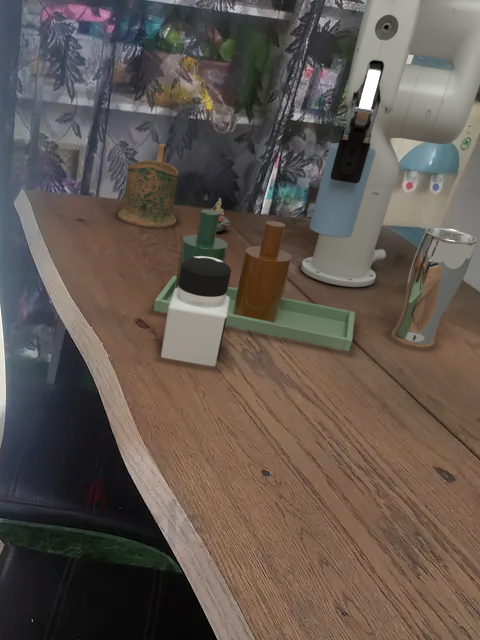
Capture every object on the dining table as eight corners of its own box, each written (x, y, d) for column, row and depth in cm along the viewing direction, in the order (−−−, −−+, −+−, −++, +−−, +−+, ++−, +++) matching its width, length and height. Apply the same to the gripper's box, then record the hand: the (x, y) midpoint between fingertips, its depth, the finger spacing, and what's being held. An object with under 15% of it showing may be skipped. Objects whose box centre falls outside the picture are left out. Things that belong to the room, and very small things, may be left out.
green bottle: (196, 293, 112) (212, 203, 105) (224, 308, 108) (243, 216, 101) (164, 298, 109) (177, 207, 101) (192, 314, 105) (208, 220, 97)
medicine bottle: (215, 369, 92) (235, 275, 85) (159, 360, 93) (174, 265, 86) (219, 347, 98) (238, 257, 91) (166, 338, 99) (181, 248, 91)
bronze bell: (183, 208, 153) (193, 145, 146) (171, 230, 139) (181, 162, 132) (129, 200, 155) (136, 137, 148) (112, 221, 141) (119, 153, 134)
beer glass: (436, 336, 108) (476, 232, 99) (437, 354, 103) (480, 246, 94) (387, 326, 110) (423, 223, 101) (386, 343, 104) (424, 235, 95)
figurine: (226, 229, 144) (232, 196, 141) (230, 235, 141) (237, 203, 137) (199, 226, 144) (205, 194, 140) (203, 233, 140) (209, 200, 137)
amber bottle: (254, 304, 111) (275, 215, 103) (285, 320, 107) (309, 228, 99) (223, 311, 107) (242, 218, 100) (254, 327, 103) (276, 232, 96)
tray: (351, 324, 109) (355, 311, 108) (348, 354, 100) (352, 340, 99) (171, 288, 114) (173, 275, 113) (152, 313, 105) (154, 299, 104)
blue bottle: (328, 222, 90) (356, 117, 83) (360, 234, 87) (392, 127, 80) (300, 226, 87) (327, 118, 80) (332, 239, 84) (363, 128, 77)
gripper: (444, -17, 65) (378, 198, 76) (435, -18, 78) (380, 166, 89) (358, -27, 67) (305, 186, 78) (363, -26, 80) (318, 156, 91)
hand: (346, 173), depth 83 cm, fingers closed on blue bottle, 5 cm apart
